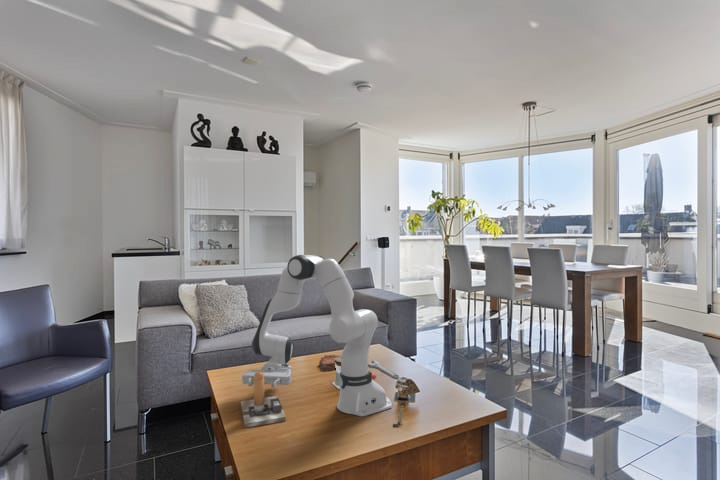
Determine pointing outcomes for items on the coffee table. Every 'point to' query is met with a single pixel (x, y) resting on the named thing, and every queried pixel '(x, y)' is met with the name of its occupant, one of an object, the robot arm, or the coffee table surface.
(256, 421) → the metal mounting plate
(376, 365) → the adjustable wrench
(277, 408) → the block
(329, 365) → the pottery shard
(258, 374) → the tan rounded rod
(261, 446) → the coffee table surface
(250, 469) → the coffee table surface
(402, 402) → the tactical tomahawk
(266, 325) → the robot arm
